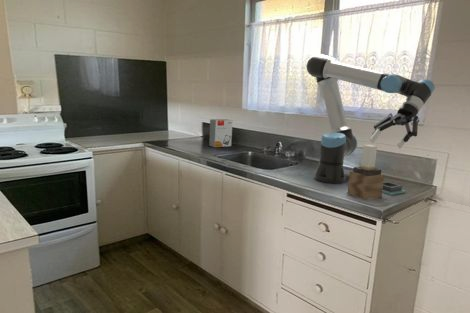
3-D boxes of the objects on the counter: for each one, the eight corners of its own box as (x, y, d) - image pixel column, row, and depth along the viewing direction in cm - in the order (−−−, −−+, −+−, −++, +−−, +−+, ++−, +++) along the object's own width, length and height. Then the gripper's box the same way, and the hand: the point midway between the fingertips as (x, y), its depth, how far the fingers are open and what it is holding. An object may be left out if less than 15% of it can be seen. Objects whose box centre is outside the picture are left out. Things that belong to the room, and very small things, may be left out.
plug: (360, 172, 149) (363, 145, 146) (366, 171, 150) (369, 144, 148) (367, 174, 145) (370, 146, 143) (373, 173, 147) (377, 146, 145)
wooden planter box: (347, 192, 152) (350, 166, 149) (362, 190, 157) (365, 165, 154) (365, 199, 143) (369, 172, 141) (381, 196, 148) (385, 170, 146)
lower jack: (371, 188, 159) (372, 182, 159) (385, 186, 164) (386, 180, 164) (390, 195, 151) (391, 188, 150) (404, 192, 156) (405, 186, 155)
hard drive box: (214, 147, 249) (214, 120, 245) (208, 145, 255) (209, 119, 251) (231, 146, 258) (232, 119, 254) (226, 144, 264) (227, 118, 260)
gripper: (440, 117, 144) (414, 154, 139) (388, 112, 165) (364, 144, 160) (435, 104, 140) (408, 142, 136) (382, 100, 161) (357, 134, 157)
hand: (384, 143), depth 148 cm, fingers open, 13 cm apart
